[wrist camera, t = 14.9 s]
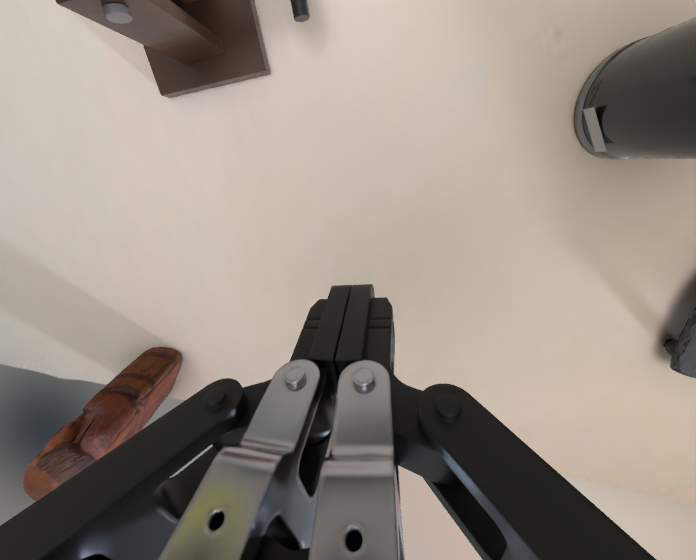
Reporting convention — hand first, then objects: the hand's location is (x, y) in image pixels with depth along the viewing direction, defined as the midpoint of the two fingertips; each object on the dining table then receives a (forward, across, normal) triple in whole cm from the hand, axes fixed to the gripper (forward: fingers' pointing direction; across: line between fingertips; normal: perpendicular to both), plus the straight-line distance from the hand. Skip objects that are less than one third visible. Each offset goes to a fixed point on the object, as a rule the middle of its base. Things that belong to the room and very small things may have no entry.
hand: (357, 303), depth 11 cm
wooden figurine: (+16, -36, -25) cm, 47 cm away
